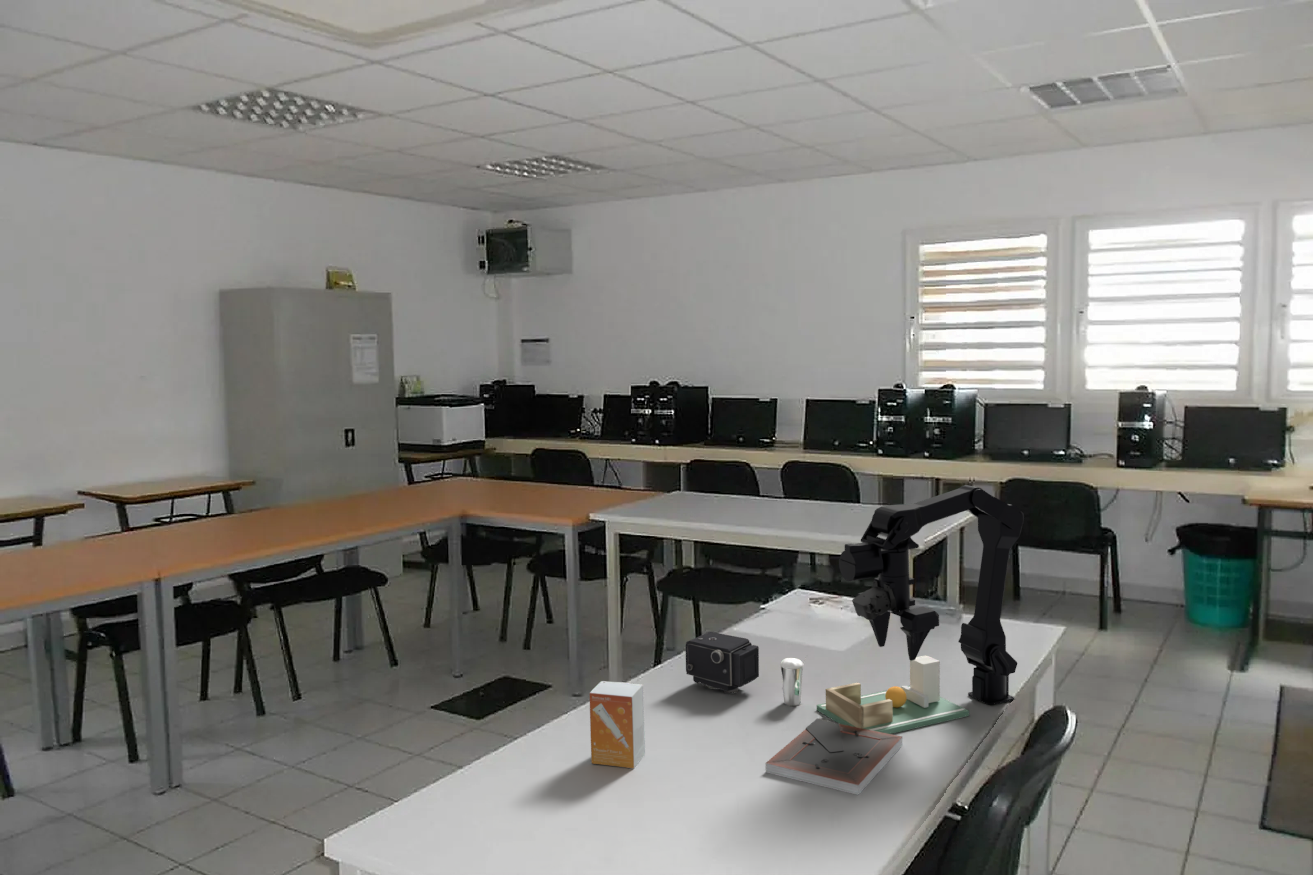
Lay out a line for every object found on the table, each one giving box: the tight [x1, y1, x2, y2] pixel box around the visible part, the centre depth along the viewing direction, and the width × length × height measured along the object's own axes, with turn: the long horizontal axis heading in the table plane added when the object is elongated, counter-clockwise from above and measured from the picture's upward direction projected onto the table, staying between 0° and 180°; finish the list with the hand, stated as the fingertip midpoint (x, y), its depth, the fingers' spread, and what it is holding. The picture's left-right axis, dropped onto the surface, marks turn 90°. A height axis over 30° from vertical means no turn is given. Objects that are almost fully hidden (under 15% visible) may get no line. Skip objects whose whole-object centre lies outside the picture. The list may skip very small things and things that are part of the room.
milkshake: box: [780, 655, 808, 707], centre depth 190 cm, size 5×5×10 cm
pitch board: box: [816, 685, 970, 735], centre depth 184 cm, size 24×16×1 cm, turn 113°
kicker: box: [900, 655, 941, 708], centre depth 186 cm, size 5×7×8 cm
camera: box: [685, 631, 760, 694], centre depth 199 cm, size 11×11×15 cm
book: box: [765, 718, 903, 795], centre depth 164 cm, size 16×2×22 cm
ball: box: [885, 686, 907, 708], centre depth 184 cm, size 4×4×4 cm
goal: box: [825, 682, 893, 728], centre depth 180 cm, size 8×11×4 cm
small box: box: [589, 680, 646, 770], centre depth 166 cm, size 8×6×13 cm
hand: (896, 653), depth 181 cm, fingers open, 9 cm apart
